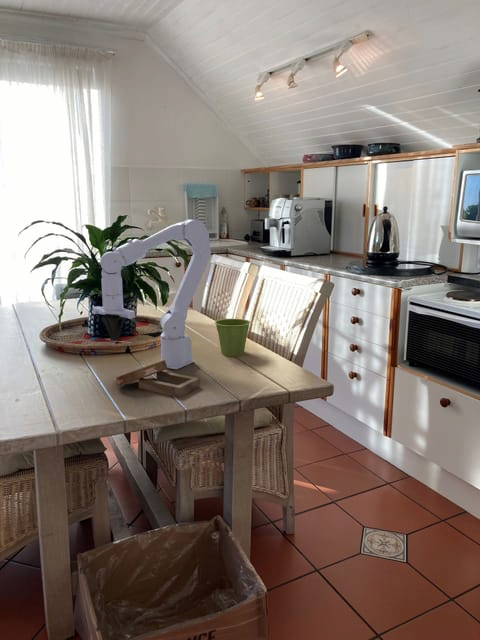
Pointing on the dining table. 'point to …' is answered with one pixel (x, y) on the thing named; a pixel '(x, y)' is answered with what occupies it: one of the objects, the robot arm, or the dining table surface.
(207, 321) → the dining table surface
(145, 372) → the tin
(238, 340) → the plant pot
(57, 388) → the dining table surface
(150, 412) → the dining table surface
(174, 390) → the dock
